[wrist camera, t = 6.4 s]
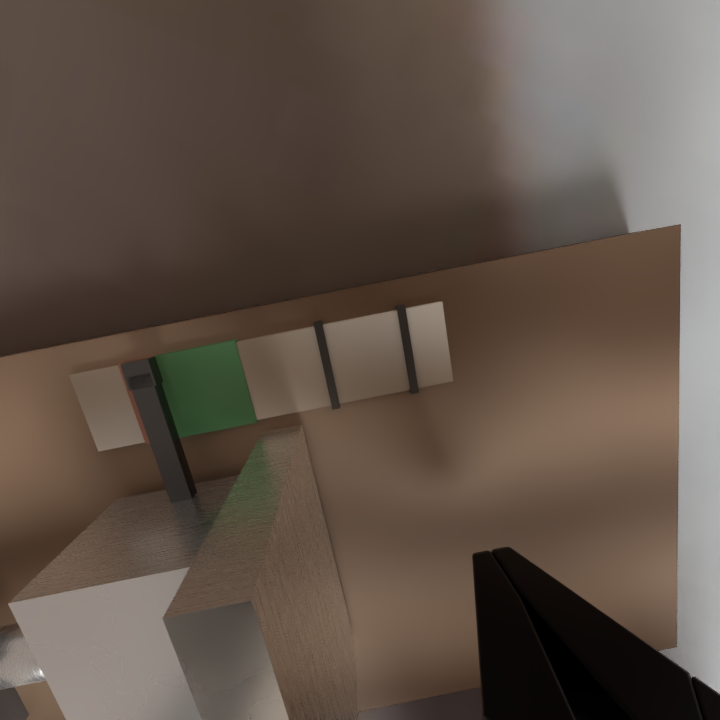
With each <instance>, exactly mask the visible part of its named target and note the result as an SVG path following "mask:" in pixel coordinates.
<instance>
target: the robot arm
mask: <svg viewBox="0 0 720 720" xmlns="http://www.w3.org/2000/svg"><path fill="white" fill-rule="evenodd" d="M472 564H473V579H474V594H475V609H476V624H477V639H478V654H479V670H480V685H481V700H482V715H483V720H720V694H719V693H717V692H716V691H715V690H713V689H712V688H710V687H709V686H708V685H706V684H705V683H703V682H702V681H700V680H699V679H698V678H696V677H692V678H691V676H690V674H689V672H687V671H686V670H684V669H683V668H682V667H680V666H679V665H677V664H676V663H674V662H673V661H672V660H670V659H669V658H667V657H666V656H665V655H663V654H662V653H660V652H659V651H657V650H656V649H655V648H653V647H652V646H650V645H649V644H647V643H646V642H645V641H643V640H642V639H640V638H639V637H637V636H636V635H635V634H633V633H632V632H630V631H629V630H628V629H626V628H625V627H623V626H622V625H620V624H619V623H618V622H616V621H615V620H613V619H612V618H610V617H609V616H608V615H606V614H605V613H603V612H602V611H600V610H599V609H598V608H596V607H595V606H593V605H592V604H591V603H589V602H588V601H586V600H585V599H583V598H582V597H581V596H579V595H578V594H576V593H575V592H573V591H572V590H571V589H569V588H568V587H566V586H565V585H563V584H562V583H561V582H559V581H558V580H556V579H555V578H554V577H552V576H551V575H549V574H548V573H546V572H545V571H544V570H542V569H541V568H539V567H538V566H536V565H535V564H534V563H532V562H531V561H529V560H528V559H526V558H525V557H524V556H522V555H521V554H519V553H518V552H517V551H515V550H514V549H512V548H511V547H501V548H496V549H493V550H492V551H491V552H490V551H488V550H486V551H482V552H477V553H473V555H472Z"/></svg>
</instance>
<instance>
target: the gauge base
mask: <svg viewBox="0 0 720 720" xmlns="http://www.w3.org/2000/svg"><path fill="white" fill-rule="evenodd" d="M680 240H681V224H680V225H674V226H668V227H662V228H657V229H651V230H645V231H639V232H634V233H628V234H623V235H618V236H613V237H608V238H603V239H598V240H592V241H587V242H582V243H577V244H572V245H567V246H562V247H557V248H552V249H546V250H541V251H536V252H531V253H526V254H521V255H516V256H511V257H506V258H500V259H495V260H490V261H485V262H480V263H475V264H470V265H465V266H460V267H454V268H449V269H444V270H439V271H434V272H429V273H424V274H419V275H414V276H409V277H403V278H398V279H393V280H388V281H383V282H378V283H373V284H368V285H363V286H357V287H352V288H347V289H342V290H337V291H332V292H327V293H322V294H317V295H311V296H306V297H301V298H296V299H291V300H286V301H281V302H276V303H271V304H266V305H260V306H255V307H250V308H245V309H240V310H235V311H230V312H225V313H220V314H214V315H209V316H204V317H199V318H194V319H189V320H184V321H179V322H174V323H168V324H163V325H158V326H153V327H148V328H143V329H138V330H133V331H128V332H123V333H117V334H112V335H107V336H102V337H97V338H92V339H87V340H82V341H77V342H71V343H66V344H61V345H56V346H51V347H46V348H41V349H36V350H31V351H25V352H20V353H15V354H10V355H5V356H0V626H4V625H9V624H14V623H17V621H16V619H15V617H14V615H13V613H12V611H11V609H10V607H9V605H8V603H9V602H10V601H11V600H12V599H13V598H14V597H15V596H16V595H17V594H18V593H19V592H20V591H21V590H23V589H24V588H25V587H26V586H27V585H28V584H29V583H30V582H31V581H32V580H33V579H34V578H35V577H36V576H37V575H38V574H39V573H40V572H41V571H42V570H43V569H44V568H45V567H46V566H48V565H49V564H50V563H51V562H52V561H53V560H54V559H55V558H56V557H57V556H58V555H59V554H60V553H61V552H62V551H63V550H64V549H65V548H66V547H67V546H68V545H69V544H70V543H72V542H73V541H74V540H75V539H76V538H77V537H78V536H79V535H80V534H81V533H82V532H83V531H84V530H85V529H86V528H87V527H88V526H89V525H90V524H91V523H92V522H93V521H94V520H95V519H97V518H98V517H99V516H100V515H101V514H102V513H103V512H104V511H105V510H106V509H107V508H108V507H109V506H110V505H111V504H112V503H113V502H114V501H115V500H116V499H119V498H124V497H129V496H134V495H139V494H144V493H149V492H154V491H159V490H164V489H166V488H165V485H164V482H163V479H162V476H161V474H160V471H159V468H158V465H157V462H156V459H155V456H154V454H153V451H152V448H151V445H150V442H149V439H148V436H147V433H146V431H145V428H144V425H143V422H142V419H141V416H140V413H139V411H138V408H137V405H136V402H135V399H134V396H133V393H132V391H129V389H128V386H127V383H126V380H125V378H124V375H123V372H122V369H121V366H120V364H123V363H126V362H128V361H133V360H139V359H144V358H149V357H154V356H155V358H156V361H157V364H158V367H159V370H160V373H161V376H162V379H163V382H162V386H163V389H164V392H165V395H166V398H167V401H168V404H169V407H170V411H171V414H172V417H173V420H174V423H175V426H176V429H177V432H178V435H179V438H180V441H181V444H182V447H183V450H184V453H185V456H186V459H187V462H188V465H189V468H190V471H191V474H192V478H193V481H194V483H200V482H205V481H210V480H215V479H220V478H225V477H230V476H235V475H240V473H241V471H242V469H243V467H244V465H245V463H246V462H247V460H248V458H249V456H250V454H251V452H252V450H253V448H254V447H255V445H256V443H257V441H258V439H259V437H260V435H261V434H262V432H266V431H271V430H276V429H281V428H286V427H291V426H296V425H301V424H302V427H303V431H304V435H305V440H306V444H307V448H308V452H309V456H310V460H311V464H312V468H313V472H314V477H315V481H316V485H317V489H318V493H319V497H320V501H321V505H322V509H323V514H324V518H325V522H326V526H327V530H328V534H329V538H330V542H331V546H332V551H333V555H334V559H335V563H336V567H337V571H338V575H339V579H340V583H341V588H342V592H343V596H344V600H345V604H346V608H347V612H348V616H349V621H350V625H351V629H352V633H353V637H354V641H355V648H356V675H357V702H358V712H361V711H366V710H371V709H376V708H381V707H386V706H390V705H395V704H400V703H405V702H410V701H415V700H420V699H425V698H429V697H434V696H439V695H444V694H449V693H454V692H459V691H464V690H469V689H473V688H478V687H481V685H480V670H479V654H478V639H477V624H476V609H475V594H474V579H473V564H472V555H473V553H477V552H482V551H486V550H488V551H490V552H491V551H492V550H493V549H496V548H501V547H511V548H512V549H514V550H515V551H517V552H518V553H519V554H521V555H522V556H524V557H525V558H526V559H528V560H529V561H531V562H532V563H534V564H535V565H536V566H538V567H539V568H541V569H542V570H544V571H545V572H546V573H548V574H549V575H551V576H552V577H554V578H555V579H556V580H558V581H559V582H561V583H562V584H563V585H565V586H566V587H568V588H569V589H571V590H572V591H573V592H575V593H576V594H578V595H579V596H581V597H582V598H583V599H585V600H586V601H588V602H589V603H591V604H592V605H593V606H595V607H596V608H598V609H599V610H600V611H602V612H603V613H605V614H606V615H608V616H609V617H610V618H612V619H613V620H615V621H616V622H618V623H619V624H620V625H622V626H623V627H625V628H626V629H628V630H629V631H630V632H632V633H633V634H635V635H636V636H637V637H639V638H640V639H642V640H643V641H645V642H646V643H647V644H649V645H650V646H652V647H653V648H655V649H656V650H657V651H659V650H664V649H669V648H674V647H677V548H678V445H679V343H680ZM0 720H66V719H65V717H64V715H63V713H62V711H61V709H60V707H59V705H58V703H57V701H56V699H55V697H54V695H53V693H52V691H51V689H50V687H49V685H48V683H47V681H41V682H36V683H32V684H27V685H22V686H17V687H12V688H7V689H2V690H0Z"/></svg>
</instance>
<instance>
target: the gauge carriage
mask: <svg viewBox="0 0 720 720" xmlns="http://www.w3.org/2000/svg"><path fill="white" fill-rule="evenodd" d="M120 366H121V369H122V372H123V375H124V378H125V380H126V383H127V386H128V389H129V391H132V393H133V396H134V399H135V402H136V405H137V408H138V411H139V413H140V416H141V419H142V422H143V425H144V428H145V431H146V433H147V436H148V439H149V442H150V445H151V448H152V451H153V454H154V456H155V459H156V462H157V465H158V468H159V471H160V474H161V476H162V479H163V482H164V485H165V488H166V489H164V490H159V491H154V492H149V493H144V494H139V495H134V496H129V497H124V498H119V499H116V500H115V501H114V502H113V503H112V504H111V505H110V506H109V507H108V508H107V509H106V510H105V511H104V512H103V513H102V514H101V515H100V516H99V517H98V518H97V519H95V520H94V521H93V522H92V523H91V524H90V525H89V526H88V527H87V528H86V529H85V530H84V531H83V532H82V533H81V534H80V535H79V536H78V537H77V538H76V539H75V540H74V541H73V542H72V543H70V544H69V545H68V546H67V547H66V548H65V549H64V550H63V551H62V552H61V553H60V554H59V555H58V556H57V557H56V558H55V559H54V560H53V561H52V562H51V563H50V564H49V565H48V566H46V567H45V568H44V569H43V570H42V571H41V572H40V573H39V574H38V575H37V576H36V577H35V578H34V579H33V580H32V581H31V582H30V583H29V584H28V585H27V586H26V587H25V588H24V589H23V590H21V591H20V592H19V593H18V594H17V595H16V596H15V597H14V598H13V599H12V600H11V601H10V602H9V603H8V605H9V607H10V609H11V611H12V613H13V615H14V617H15V619H16V621H17V623H14V624H9V625H4V626H0V690H2V689H7V688H12V687H17V686H22V685H27V684H32V683H36V682H41V681H47V683H48V685H49V687H50V689H51V691H52V693H53V695H54V697H55V699H56V701H57V703H58V705H59V707H60V709H61V711H62V713H63V715H64V717H65V719H66V720H358V702H357V675H356V648H355V641H354V637H353V633H352V629H351V625H350V621H349V616H348V612H347V608H346V604H345V600H344V596H343V592H342V588H341V583H340V579H339V575H338V571H337V567H336V563H335V559H334V555H333V551H332V546H331V542H330V538H329V534H328V530H327V526H326V522H325V518H324V514H323V509H322V505H321V501H320V497H319V493H318V489H317V485H316V481H315V477H314V472H313V468H312V464H311V460H310V456H309V452H308V448H307V444H306V440H305V435H304V431H303V427H302V424H301V425H296V426H291V427H286V428H281V429H276V430H271V431H266V432H262V434H261V435H260V437H259V439H258V441H257V443H256V445H255V447H254V448H253V450H252V452H251V454H250V456H249V458H248V460H247V462H246V463H245V465H244V467H243V469H242V471H241V473H240V475H235V476H230V477H225V478H220V479H215V480H210V481H205V482H200V483H194V481H193V478H192V474H191V471H190V468H189V465H188V462H187V459H186V456H185V453H184V450H183V447H182V444H181V441H180V438H179V435H178V432H177V429H176V426H175V423H174V420H173V417H172V414H171V411H170V407H169V404H168V401H167V398H166V395H165V392H164V389H163V386H162V382H163V379H162V376H161V373H160V370H159V367H158V364H157V361H156V358H155V356H154V357H149V358H144V359H139V360H133V361H128V362H126V363H123V364H120Z"/></svg>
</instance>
